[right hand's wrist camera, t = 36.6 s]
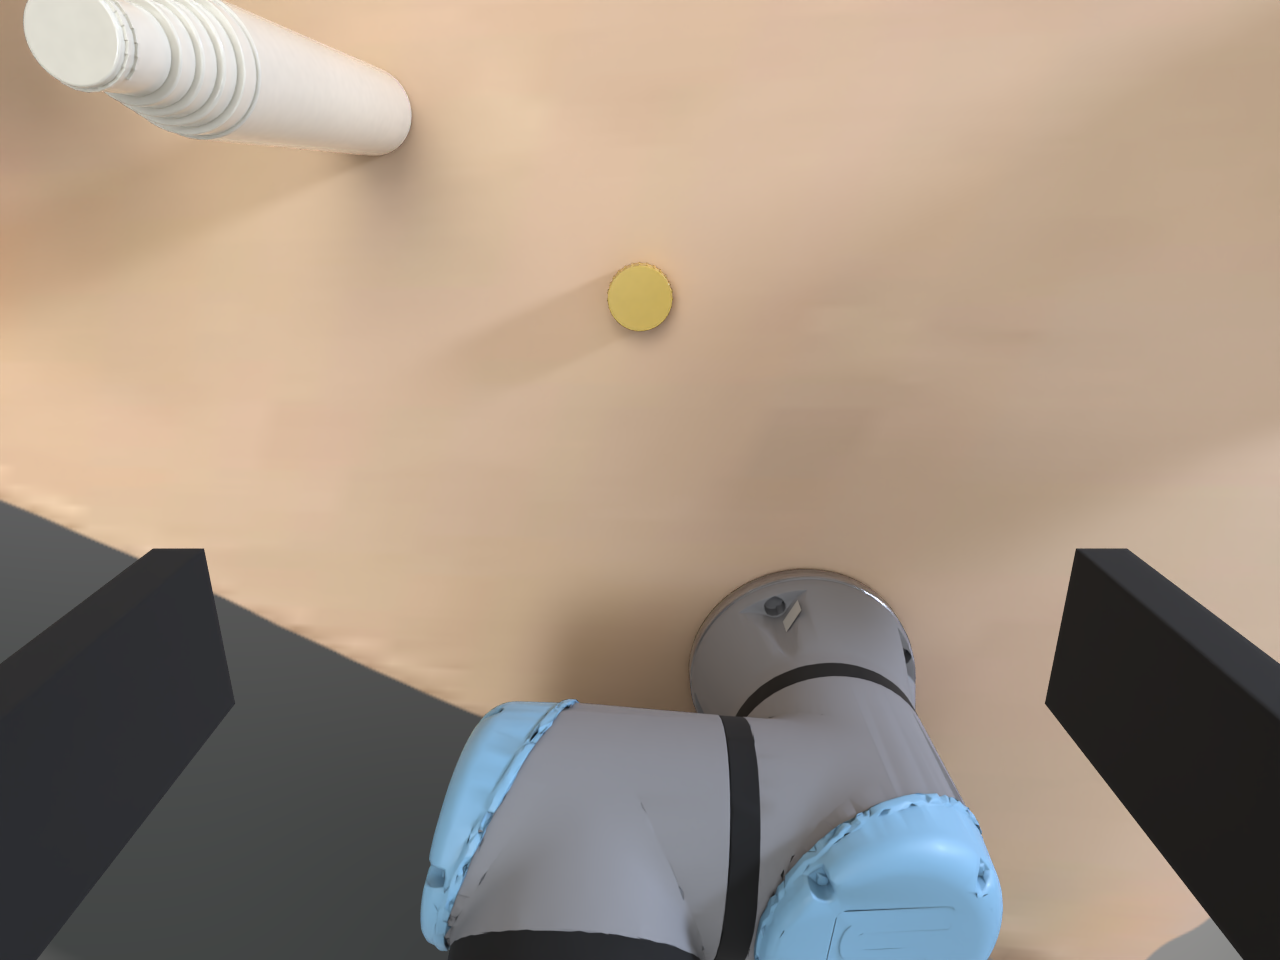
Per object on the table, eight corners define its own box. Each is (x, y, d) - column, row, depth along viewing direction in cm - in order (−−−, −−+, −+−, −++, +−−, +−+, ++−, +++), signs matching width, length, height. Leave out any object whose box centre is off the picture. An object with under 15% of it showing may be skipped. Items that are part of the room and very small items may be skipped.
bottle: (407, 164, 46) (159, 145, 22) (325, 146, 46) (-15, 108, 22) (416, 76, 45) (161, -44, 21) (332, 56, 44) (-26, -88, 21)
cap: (679, 272, 48) (681, 275, 46) (661, 334, 50) (662, 339, 48) (617, 254, 48) (616, 256, 46) (601, 317, 49) (599, 322, 47)
